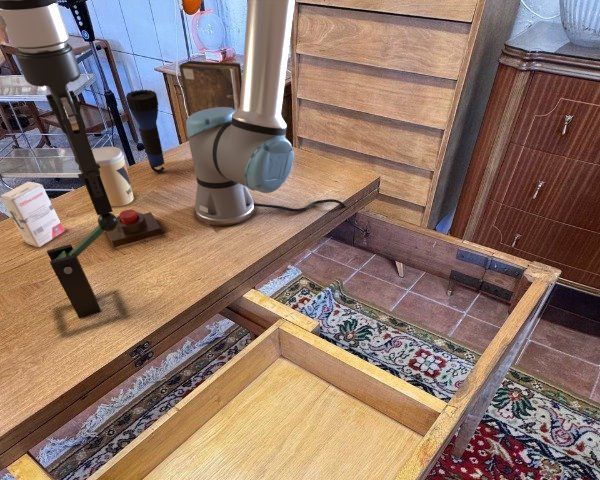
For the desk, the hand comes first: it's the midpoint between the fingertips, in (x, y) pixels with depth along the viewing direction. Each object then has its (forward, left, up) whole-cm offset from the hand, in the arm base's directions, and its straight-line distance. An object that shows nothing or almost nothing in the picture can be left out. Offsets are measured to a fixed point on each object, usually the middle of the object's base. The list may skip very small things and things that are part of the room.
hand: (104, 211), depth 79 cm
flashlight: (-22, -57, -19) cm, 64 cm away
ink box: (+14, -36, -19) cm, 43 cm away
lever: (+4, 0, -6) cm, 7 cm away
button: (-6, -26, -16) cm, 31 cm away
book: (-41, -54, -19) cm, 71 cm away
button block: (-6, -26, -19) cm, 33 cm away
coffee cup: (-7, -46, -19) cm, 51 cm away
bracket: (+10, 0, -19) cm, 22 cm away
